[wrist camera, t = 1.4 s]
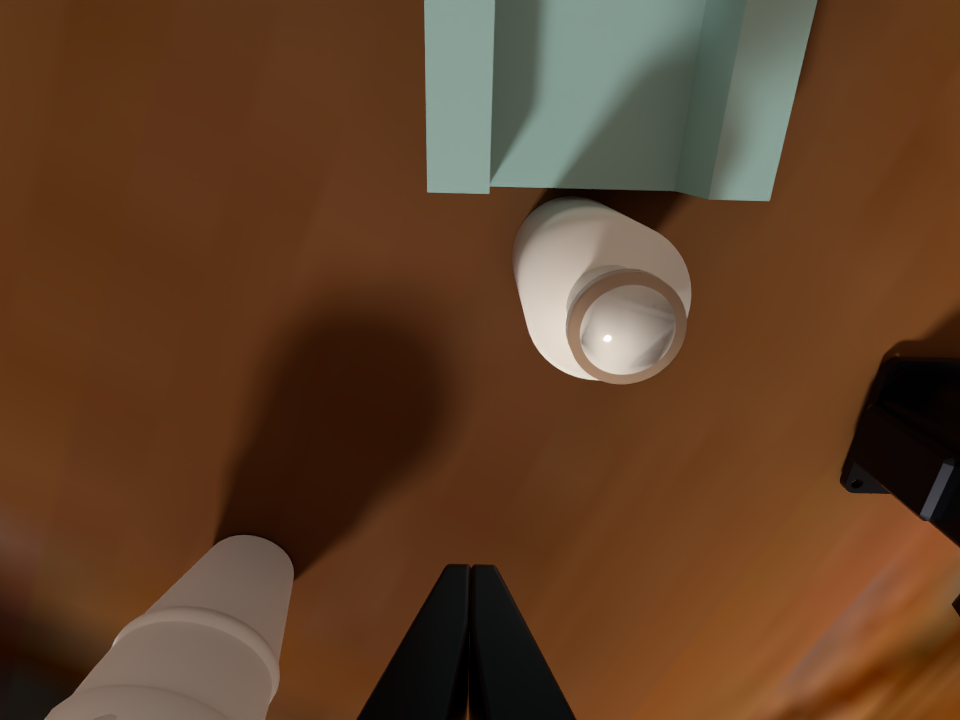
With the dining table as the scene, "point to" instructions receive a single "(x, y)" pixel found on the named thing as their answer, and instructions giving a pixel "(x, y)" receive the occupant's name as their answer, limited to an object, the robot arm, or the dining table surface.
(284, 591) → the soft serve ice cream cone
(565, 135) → the teal rectangular tray
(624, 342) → the bottle
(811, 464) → the dining table surface
